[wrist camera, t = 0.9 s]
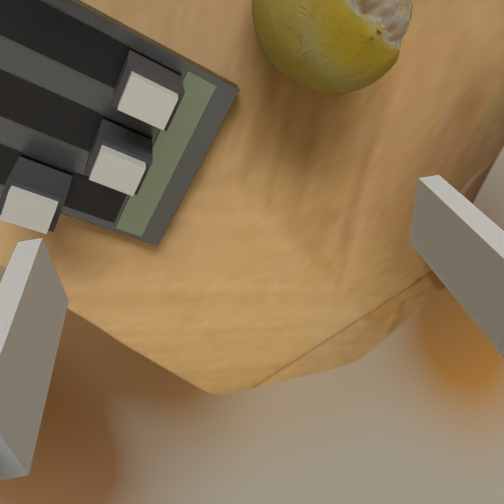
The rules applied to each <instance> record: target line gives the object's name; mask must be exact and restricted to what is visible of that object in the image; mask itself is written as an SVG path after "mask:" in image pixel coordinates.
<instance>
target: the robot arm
mask: <svg viewBox="0 0 504 504" xmlns="http://www.w3.org/2000/svg"><path fill="white" fill-rule="evenodd" d="M409 242H410V243H411V244H412V246H413V247H414V248H415V249H416V251H417V252H418V253H419V254H420V255H421V257H422V258H423V259H424V260H425V262H426V263H427V264H428V265H429V266H430V268H431V269H432V270H433V271H434V273H435V274H436V275H437V276H438V278H439V279H440V280H441V281H442V282H443V284H444V285H445V286H446V287H447V289H448V290H449V291H450V292H451V293H452V295H453V296H454V297H455V298H456V300H457V301H458V302H459V303H460V304H461V306H462V307H463V308H464V309H465V310H466V312H467V313H468V314H469V316H470V317H471V318H472V319H473V320H474V322H475V323H476V324H477V325H478V327H479V328H480V329H481V330H482V331H483V333H484V334H485V335H486V336H487V338H488V339H489V340H490V341H491V342H492V344H493V345H494V346H495V347H496V349H497V350H498V351H499V352H500V354H501V355H502V356H503V357H504V231H503V230H502V229H501V228H499V227H498V226H497V225H496V224H495V223H493V222H492V221H491V220H490V219H489V218H488V217H487V216H485V215H484V214H483V213H482V212H481V211H480V210H479V209H477V208H476V207H475V206H474V205H473V204H472V203H471V202H469V201H468V200H467V199H466V198H465V197H464V196H462V195H461V194H460V193H459V192H458V191H457V190H456V189H454V188H453V187H452V186H451V185H450V184H449V183H447V182H446V181H445V180H444V179H443V178H442V177H441V176H439V175H435V176H429V177H423V178H419V179H418V185H417V192H416V198H415V205H414V211H413V218H412V224H411V231H410V237H409ZM68 301H69V299H68V297H67V295H66V292H65V290H64V288H63V285H62V283H61V281H60V278H59V276H58V274H57V271H56V269H55V267H54V264H53V262H52V260H51V257H50V255H49V253H48V250H47V248H46V246H45V243H44V241H43V239H42V238H39V239H33V240H26V241H20V242H18V244H17V246H16V248H15V251H14V253H13V255H12V258H11V260H10V262H9V265H8V267H7V269H6V272H5V274H4V276H3V279H2V281H1V283H0V481H3V480H8V479H12V478H17V477H22V476H27V475H29V472H30V468H31V463H32V458H33V454H34V450H35V446H36V441H37V437H38V432H39V428H40V424H41V419H42V415H43V410H44V406H45V402H46V397H47V393H48V389H49V384H50V380H51V375H52V371H53V367H54V362H55V357H56V353H57V348H58V344H59V340H60V336H61V331H62V327H63V322H64V318H65V314H66V310H67V305H68Z"/></svg>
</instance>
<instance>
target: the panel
mask: <svg viewBox="0 0 504 504" xmlns="http://www.w3.org/2000/svg"><path fill="white" fill-rule="evenodd" d="M129 50H131V51H133V52H135V53H137V54H139V55H141V56H143V57H145V58H147V59H149V60H151V61H153V62H155V63H156V64H158V65H160V66H162V67H164V68H166V69H168V70H170V71H172V72H174V73H176V74H178V75H180V76H182V80H183V85H184V90H185V94H184V96H183V98H182V100H181V102H180V104H179V107H178V109H177V111H176V113H175V115H174V117H173V119H172V122H171V124H170V126H169V128H168V130H167V131H165V130H164V131H163V130H161V129H159V128H157V127H155V126H152V125H150V124H148V123H146V122H144V121H141V120H139V119H137V118H135V117H133V116H130V115H128V114H126V113H124V112H121V111H119V110H117V109H116V108H114V107H112V106H111V102H112V97H113V92H114V88H115V85H116V83H117V80H118V78H119V75H120V73H121V70H122V68H123V65H124V62H125V60H126V57H127V55H128V52H129ZM238 92H239V88H238V86H237V85H236V84H234V83H232V82H230V81H229V80H227V79H225V78H223V77H221V76H219V75H217V74H216V73H214V72H212V71H210V70H208V69H206V68H204V67H203V66H201V65H199V64H197V63H195V62H193V61H191V60H190V59H188V58H186V57H184V56H182V55H180V54H178V53H177V52H175V51H173V50H171V49H169V48H167V47H165V46H163V45H162V44H160V43H158V42H156V41H154V40H152V39H150V38H149V37H147V36H145V35H143V34H141V33H139V32H137V31H136V30H134V29H132V28H130V27H128V26H126V25H124V24H123V23H121V22H119V21H117V20H115V19H113V18H111V17H110V16H108V15H106V14H104V13H102V12H100V11H98V10H96V9H95V8H93V7H91V6H89V5H87V4H85V3H83V2H82V1H80V0H0V193H3V190H4V187H5V184H6V180H7V178H8V176H9V175H10V173H11V171H12V169H13V167H14V166H15V164H16V162H17V160H18V158H19V157H23V158H26V159H28V160H31V161H34V162H36V163H39V164H42V165H44V166H47V167H50V168H52V169H55V170H58V171H60V172H63V173H66V174H68V175H71V176H73V177H72V180H71V183H70V187H69V190H68V193H67V197H66V200H65V203H64V205H63V208H62V210H61V213H62V214H65V215H68V216H71V217H74V218H77V219H80V220H83V221H86V222H89V223H92V224H95V225H98V226H101V227H103V228H106V229H109V230H112V231H115V232H118V233H121V234H124V235H127V236H130V237H133V238H136V239H139V240H142V241H145V242H148V243H151V244H154V245H157V246H158V244H159V243H160V241H161V239H162V237H163V235H164V233H165V231H166V229H167V227H168V225H169V224H170V222H171V220H172V218H173V216H174V214H175V212H176V210H177V208H178V206H179V204H180V203H181V201H182V199H183V197H184V195H185V193H186V191H187V189H188V187H189V185H190V184H191V182H192V180H193V178H194V176H195V174H196V172H197V170H198V168H199V166H200V165H201V163H202V161H203V159H204V157H205V155H206V153H207V151H208V149H209V147H210V145H211V144H212V142H213V140H214V138H215V136H216V134H217V132H218V130H219V128H220V126H221V125H222V123H223V121H224V119H225V117H226V115H227V113H228V111H229V109H230V107H231V105H232V104H233V102H234V100H235V98H236V96H237V94H238ZM102 119H105V120H107V121H109V122H111V123H114V124H116V125H118V126H121V127H123V128H125V129H127V130H130V131H132V132H134V133H137V134H139V135H141V136H143V137H146V138H148V139H150V140H152V147H153V162H152V164H151V166H150V168H149V171H148V173H147V175H146V177H145V179H144V181H143V183H142V186H141V188H140V190H139V192H138V194H137V195H135V194H134V195H133V196H131V195H128V194H125V193H123V192H120V191H117V190H115V189H112V188H110V187H107V186H104V185H102V184H99V183H96V182H94V181H91V180H89V177H88V176H85V175H83V174H84V171H85V167H86V163H87V159H88V155H89V152H90V149H91V147H92V144H93V141H94V139H95V136H96V134H97V131H98V129H99V126H100V124H101V121H102Z"/></svg>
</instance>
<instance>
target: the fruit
mask: <svg viewBox="0 0 504 504" xmlns="http://www.w3.org/2000/svg"><path fill="white" fill-rule="evenodd" d="M252 13H253V20H254V27H255V31H256V35H257V38H258V41H259V43H260V45H261V47H262V49H263V51H264V52H265V54H266V56H267V57H268V59H269V60H270V62H271V63H272V66H274V67H275V68H276V69H277V70H278V71H279V72H280V73H281V74H283V75H284V76H285V77H287V78H288V79H289V80H291V81H293V82H295V83H297V84H299V85H301V86H303V87H305V88H308V89H310V90H312V91H315V92H319V93H325V94H338V93H346V92H350V91H355V90H358V89H361V88H364V87H366V86H368V85H370V84H372V83H374V82H375V81H377V80H378V79H380V78H381V77H382V76H383V75H385V74H386V73H387V72H388V71H389V70H390V69H391V68H392V66H393V65H394V64H395V63H396V61H397V59H398V56H399V52H400V46H401V39H402V37H403V36H404V34H405V33H406V31H407V28H408V25H409V22H410V19H411V13H412V4H411V1H410V0H252Z"/></svg>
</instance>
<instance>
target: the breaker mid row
mask: <svg viewBox="0 0 504 504" xmlns="http://www.w3.org/2000/svg"><path fill="white" fill-rule="evenodd" d="M152 162H153V147H152V140H150V139H148V138H146V137H143V136H141V135H139V134H137V133H134V132H132V131H130V130H127V129H125V128H123V127H121V126H118V125H116V124H114V123H111V122H109V121H107V120H105V119H102V121H101V124H100V126H99V129H98V131H97V134H96V136H95V139H94V141H93V144H92V147H91V149H90V152H89V155H88V159H87V163H86V167H85V171H84V174H83V175H85V176H88V177H89V180H91V181H94V182H96V183H99V184H102V185H104V186H107V187H110V188H112V189H115V190H117V191H120V192H123V193H125V194H128V195H131V196H133V195H134V194H135V195H137V194H138V192H139V190H140V188H141V186H142V183H143V181H144V179H145V177H146V175H147V173H148V171H149V168H150V166H151V164H152Z"/></svg>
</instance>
